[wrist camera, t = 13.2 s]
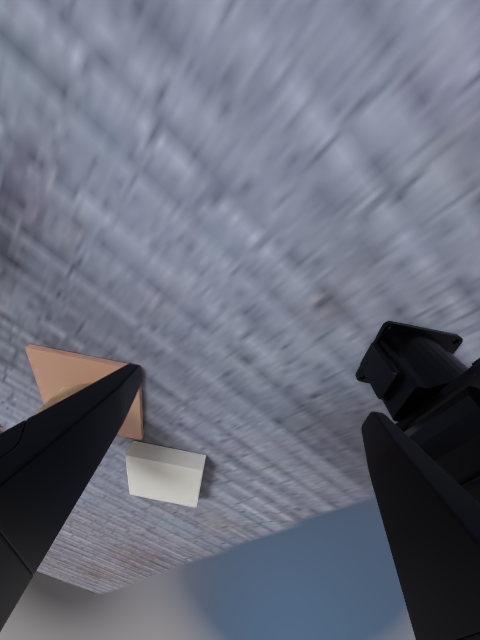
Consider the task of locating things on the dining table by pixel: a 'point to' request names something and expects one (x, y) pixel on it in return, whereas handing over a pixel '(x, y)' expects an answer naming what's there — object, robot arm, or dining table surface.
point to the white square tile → (164, 473)
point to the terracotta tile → (79, 379)
